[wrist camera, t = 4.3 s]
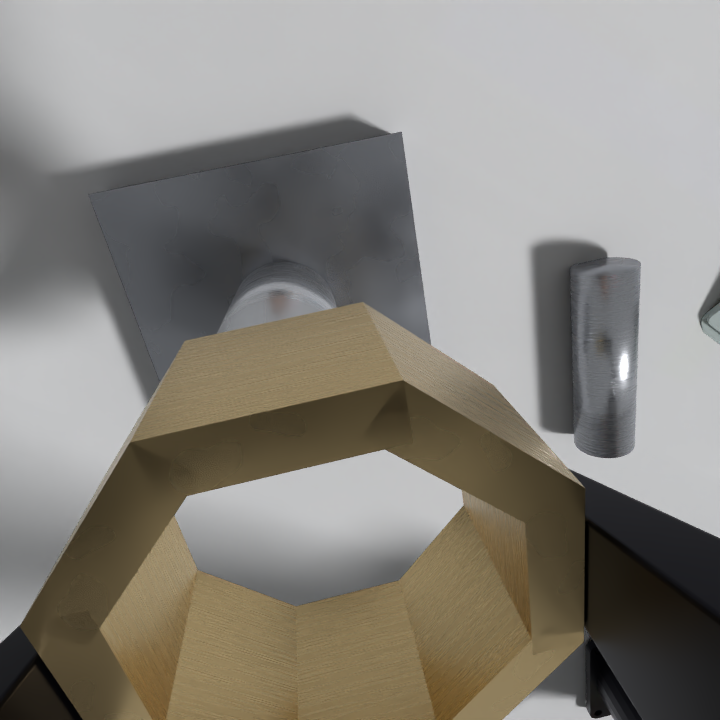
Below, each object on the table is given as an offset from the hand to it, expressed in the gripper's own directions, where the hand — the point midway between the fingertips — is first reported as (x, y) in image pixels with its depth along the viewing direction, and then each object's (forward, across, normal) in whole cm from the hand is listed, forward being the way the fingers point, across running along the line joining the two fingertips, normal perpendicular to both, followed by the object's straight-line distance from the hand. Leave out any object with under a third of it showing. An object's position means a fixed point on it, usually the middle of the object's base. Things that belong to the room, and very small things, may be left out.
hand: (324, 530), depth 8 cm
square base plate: (+12, 0, -1) cm, 12 cm away
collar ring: (+1, 0, 0) cm, 1 cm away
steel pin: (+10, -13, +4) cm, 17 cm away
